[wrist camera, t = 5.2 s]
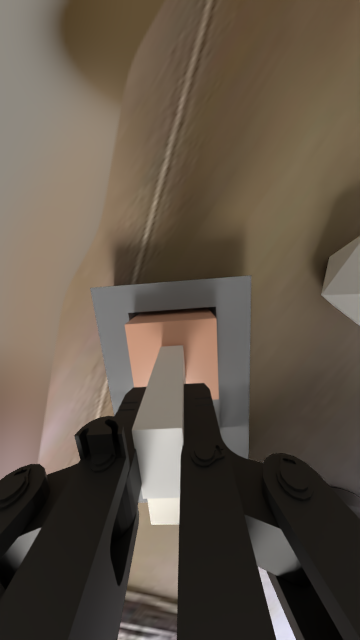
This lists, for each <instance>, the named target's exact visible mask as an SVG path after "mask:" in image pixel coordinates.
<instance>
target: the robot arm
mask: <svg viewBox="0 0 360 640" xmlns="http://www.w3.org/2000/svg"><path fill="white" fill-rule="evenodd" d="M75 440H76V444H77V448H78V452H79V456H80V459H81V460H80V461H79V463H78V464H75V465H73V466H71V467H68V468H65V469H62V470H59V471H56V472H54V473H51V474H48V475H46V472H45V469H44V467H42V466H41V465H40V464H30V465H27V466H24V467H21V468H19V469H17V470H15V471H13V472H11V473H10V474H8V475H6V476H5V477H4V478H2V479H1V480H0V640H117V638H118V633H119V627H120V622H121V616H122V611H123V606H124V600H125V595H126V589H127V584H128V578H129V573H130V567H131V562H132V557H133V551H134V546H135V540H136V535H137V529H138V524H139V511H138V501H139V496H140V491H141V490H142V496H143V499H154V498H180V515H179V565H178V614H177V640H276V637H275V633H274V629H273V625H272V621H271V617H270V613H269V610H268V606H267V602H266V598H265V594H264V590H263V586H262V582H261V578H260V574H259V570H258V567H260V568H262V569H264V570H266V571H267V574H268V576H269V578H270V580H271V583H272V585H273V587H274V590H275V592H276V594H277V597H278V599H279V601H280V603H281V606H282V608H283V610H284V613H285V615H286V617H287V620H288V622H289V624H290V627H291V629H292V631H293V633H294V636H295V638H296V640H360V497H358V496H357V495H355V494H353V493H351V492H349V491H346V490H343V489H339V488H333V487H330V486H329V485H328V484H327V483H326V482H325V481H324V480H323V479H322V478H321V477H320V475H319V474H318V473H317V472H316V471H314V470H313V469H312V468H311V467H310V466H309V465H308V464H306V463H305V462H303V461H302V460H300V459H298V458H296V457H294V456H291V455H287V454H284V453H278V454H272V455H270V456H269V457H267V458H266V459H265V461H264V463H260V462H256V461H253V460H249V459H246V458H243V457H241V456H239V455H237V454H235V453H234V452H232V451H231V450H230V449H229V448H228V447H227V446H226V444H225V443H224V441H223V439H222V437H221V434H220V429H219V425H218V421H217V417H216V413H215V409H214V405H213V400H212V396H211V392H210V389H209V388H208V387H207V385H206V384H205V383H192V384H186V377H185V364H184V350H183V345H178V346H163V347H160V350H159V353H158V356H157V359H156V361H155V364H154V367H153V370H152V373H151V376H150V379H149V382H148V385H147V387H133V388H132V389H131V390H130V391H129V392H128V393H127V394H125V396H124V398H123V400H122V402H121V404H120V406H119V408H118V411H117V412H116V414H115V416H114V417H113V416H106V417H100V418H98V419H95V420H93V421H91V422H89V423H88V424H86V425H85V426H83V427H82V428H81V429H80V430H79V431H78V432H77V433H76V434H75Z"/></svg>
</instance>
